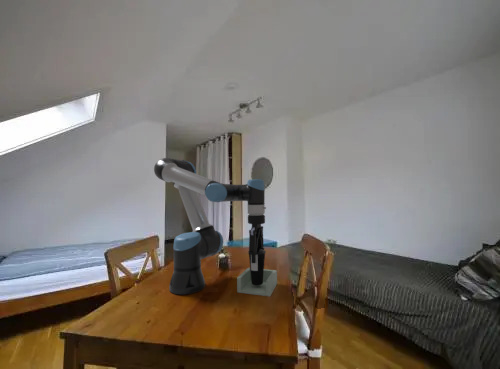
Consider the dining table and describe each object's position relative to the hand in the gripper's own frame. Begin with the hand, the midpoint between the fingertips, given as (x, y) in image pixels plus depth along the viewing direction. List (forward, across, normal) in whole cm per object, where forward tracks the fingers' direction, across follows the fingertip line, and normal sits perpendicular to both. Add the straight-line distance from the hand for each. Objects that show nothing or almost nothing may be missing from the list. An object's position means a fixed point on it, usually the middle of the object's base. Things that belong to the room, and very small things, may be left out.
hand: (257, 267), depth 101 cm
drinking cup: (+7, 0, 0) cm, 7 cm away
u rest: (+9, +1, 0) cm, 9 cm away
